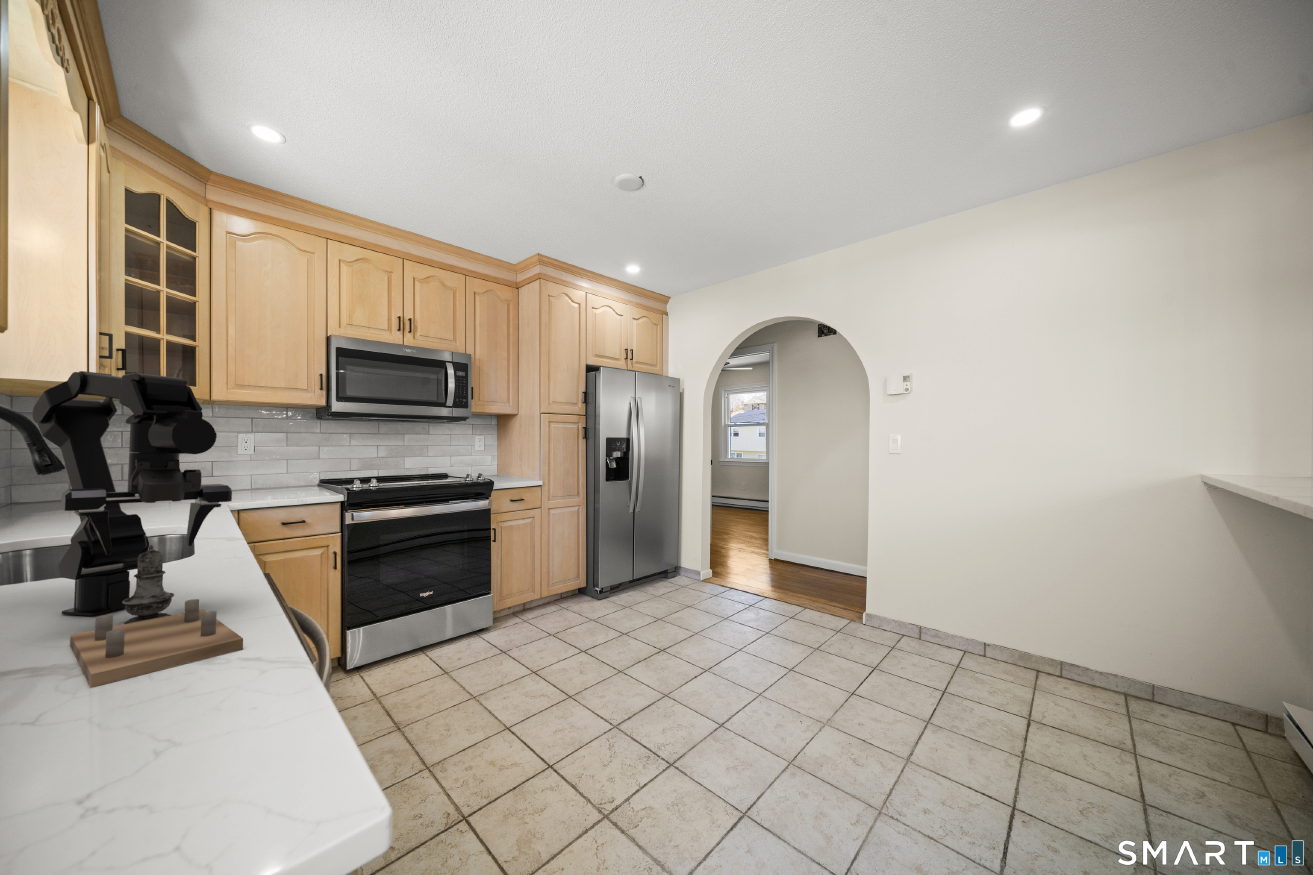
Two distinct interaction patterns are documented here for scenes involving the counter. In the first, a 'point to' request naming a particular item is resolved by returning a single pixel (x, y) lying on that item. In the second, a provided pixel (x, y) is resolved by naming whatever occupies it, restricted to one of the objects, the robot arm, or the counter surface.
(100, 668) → the peg board
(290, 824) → the counter surface
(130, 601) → the dark grey turned piece
